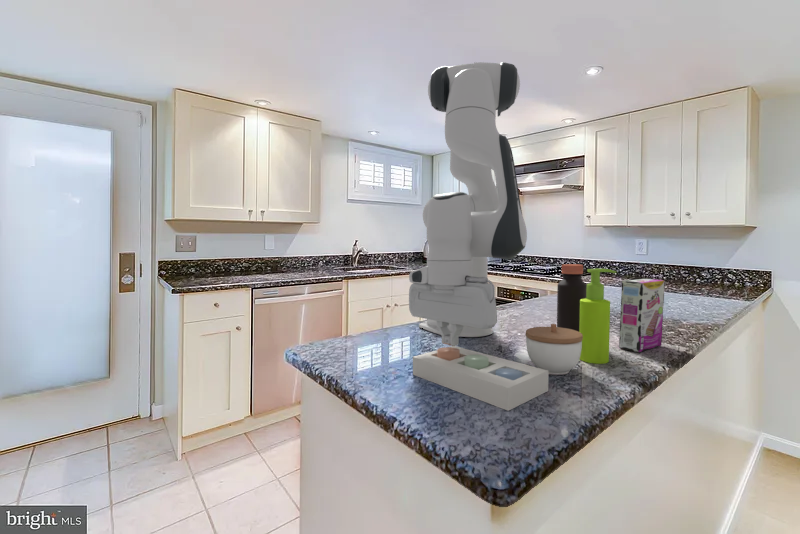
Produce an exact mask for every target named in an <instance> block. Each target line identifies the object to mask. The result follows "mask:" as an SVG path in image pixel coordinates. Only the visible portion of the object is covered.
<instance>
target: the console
mask: <svg viewBox="0 0 800 534" xmlns="http://www.w3.org/2000/svg"><path fill="white" fill-rule="evenodd" d="M450 347H452V348H457V349H459V350H460V358H457V359H454V360H451V361H448V360H445V359H442V358H438V357H437V350H438V349H436V350H433V351H428V352H426V353H422V354H419V355H414V356H412V375H413V376H415V377H418V378H421V379H423V380H425V381H429V382H431V383H434V384H436V385H439V386H442V387H445V388H447V389H449V390H453V391H454V392H458V393H460V394H464V395H465V396H468V397H471V398H474V399H476V400H479V401H481V402H484V403H486V404H489V405H492V406H493V407H494V406H495V407H497V408H500V409H502V410H506V411H507V412H508V411H511V410H513V409H515V408H517V407H519V406H521V405H523V404H525V403H527V402H529V401H530V400H533V399H534V398H536V397H539V396H541V395H543V394H544V393H546V392H549V374H548V373H549V371H548V370H544V369H540V368H537V367H536V366H532V365H528V364H525V363H521V362H517V361H513V360H509V359H505V358H501V357H499V356H494V355H491V354H487V353H482V352H480V351H475V350H472V349H467V348H463V347H459V346H458V345H457V346H450ZM467 355H483V356H486V357H488V358H489V366H488V367H486V368H483V369H480V370H478V369H474V368H471V367H468V366H464V357H465V356H467ZM503 368H509V369H515V370H519V371H520V372H522V377H520V378H518V379H515V380H510V379H507V378H504V377H500V376H497V375H496V370H498V369H503Z"/></svg>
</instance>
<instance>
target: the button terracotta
mask: <svg viewBox="0 0 800 534" xmlns="http://www.w3.org/2000/svg"><path fill="white" fill-rule="evenodd" d="M436 350H437V357H438V358H442V359H445V360H448V361H451V360H454V359H457V358H460V350H459V349H457V348H452V347H451V346H444V347H439V348H437V349H436Z"/></svg>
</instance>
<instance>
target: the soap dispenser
mask: <svg viewBox="0 0 800 534" xmlns="http://www.w3.org/2000/svg"><path fill="white" fill-rule="evenodd" d="M617 272H618V271H617V270H613V269H608V268H601V267H600V268H598V267H597V268H587V273H590V282H588V283H587V284H586V285H587V289H586V298H585V299H581V300H580V325H579V332H580V333H582V335H583V340H582V350H581V356H580V359H579V361H582V362H585V363H589V364H593V365H594V364H597V365H603V364H604V365H605V364H608V363H609V362H610V332H611V331H610V329H611V324H610V323H611V316H610V315H611V301H610V300H608V299H605V284H603V283H602V282H601V279H600V278H601V273H613V274H616V273H617Z"/></svg>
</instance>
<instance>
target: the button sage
mask: <svg viewBox="0 0 800 534" xmlns="http://www.w3.org/2000/svg"><path fill="white" fill-rule="evenodd" d="M464 366H468V367H471V368H474V369H478V370H480V369H483V368H486V367H488V366H489V358H488V357H486V356H483V355H467V356H465V357H464Z"/></svg>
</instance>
